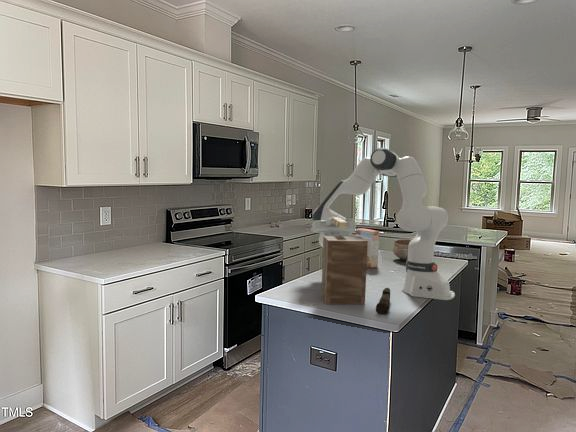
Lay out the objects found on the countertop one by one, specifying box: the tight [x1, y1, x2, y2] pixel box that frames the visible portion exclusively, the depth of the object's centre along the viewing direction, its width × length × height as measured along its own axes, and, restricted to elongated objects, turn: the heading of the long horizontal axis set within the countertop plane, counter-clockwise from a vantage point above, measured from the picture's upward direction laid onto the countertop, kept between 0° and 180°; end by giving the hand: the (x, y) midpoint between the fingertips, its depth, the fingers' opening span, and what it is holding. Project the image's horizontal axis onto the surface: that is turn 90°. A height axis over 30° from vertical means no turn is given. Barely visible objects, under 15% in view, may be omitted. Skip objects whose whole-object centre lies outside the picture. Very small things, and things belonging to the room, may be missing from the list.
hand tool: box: [375, 287, 391, 315], centre depth 179 cm, size 23×5×6 cm, turn 160°
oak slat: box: [332, 217, 348, 228], centre depth 196 cm, size 20×3×2 cm, turn 5°
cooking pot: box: [392, 238, 414, 262], centre depth 273 cm, size 25×19×12 cm
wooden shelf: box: [321, 235, 368, 305], centre depth 185 cm, size 12×16×26 cm
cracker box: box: [355, 227, 380, 269], centre depth 255 cm, size 14×6×21 cm, turn 32°
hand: (336, 220), depth 201 cm, fingers closed on oak slat, 3 cm apart
